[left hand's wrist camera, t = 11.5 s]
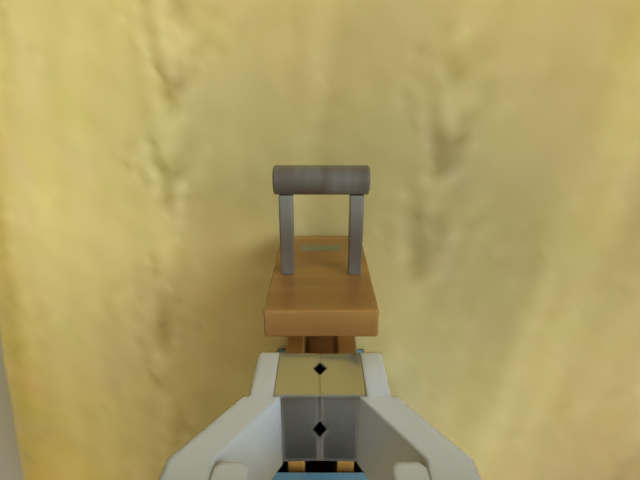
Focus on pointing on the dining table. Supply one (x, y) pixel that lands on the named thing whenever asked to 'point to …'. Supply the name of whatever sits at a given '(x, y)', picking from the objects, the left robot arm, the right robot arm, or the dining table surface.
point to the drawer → (321, 277)
